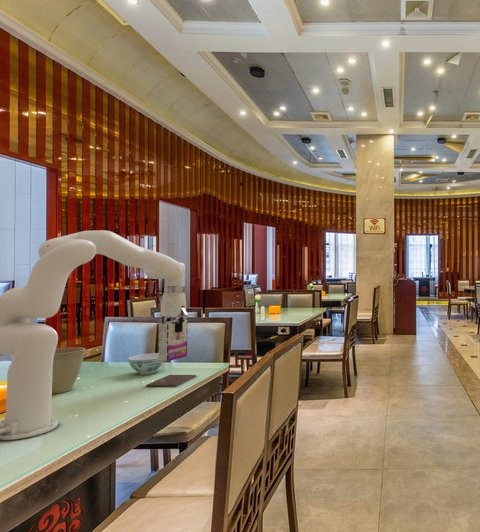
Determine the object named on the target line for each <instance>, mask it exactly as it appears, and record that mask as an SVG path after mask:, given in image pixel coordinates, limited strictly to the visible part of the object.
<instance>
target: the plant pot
mask: <svg viewBox="0 0 480 532" xmlns="http://www.w3.org/2000/svg"><path fill="white" fill-rule="evenodd" d="M85 352H86V348H85V347H61V348H56V350H55V354H54V359H53V370H52V395H53V394H62V393H66V392H70V391H72V389H73V387H74V385H75V384H76V382H77V381H76V380H77V378H78V376H79V374H80V371H81V368H82V364H83V361H84V356H85Z"/></svg>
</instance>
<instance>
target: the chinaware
mask: <svg viewBox="0 0 480 532" xmlns="http://www.w3.org/2000/svg"><path fill="white" fill-rule="evenodd" d="M165 362H166V361H159V352H152V353H150V352H149V353H141V354H135V355H132V356H129V357H128V363H129V366H130V367H131V368H132V369H133V370H134V371H136V372H138V374H139V375H142V376H143V375H151V374H155V373H156V372H157V370H158V369H160V368H161V367H162V366H164V363H165Z"/></svg>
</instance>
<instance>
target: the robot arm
mask: <svg viewBox="0 0 480 532" xmlns="http://www.w3.org/2000/svg"><path fill="white" fill-rule="evenodd" d="M37 254H38V257H39V259H38V260H37V261H36V262H35V263H34V265H33V267H32V269H31V271H30V274H29V276H28V280H27V283H26V284H25V285H26V286H19V287H13V288H10V289H8V290H6V291H5V292H4V293H2V294H1V295H0V355H5V356H13V358H12V360H11V362H10V364H9V366H8V369H7V372H6V373H7V374H6V375H7V376H6V398H5V399H6V400H5V419H1V420H0V440H3V441H13V440H20V439H26V438H31V437H36V436H39V435H42V434H45V433H48V432H51V431H52V430H54V429H56V428H57V427H58V424H59V423H58V420H56V419H53V418H52V400H53V399H52V397H53V396H52V395H53V394H52V370H53V359H54V354H55V350H56V349H57V346H58V341H59V336H58V332H57V331H56V329H54V328H53V327H52V326H50V325H47V324H45V323H40V322H39V323H38V322H37V323H36V322H31V320H32V319H33V320H34V319H35V320H37V319H39V320H40V319H41V320H43V319H49V318H52V317H54V316H55V315H57V313H58V312H59V311H60V307H61V304H62V300H63V296H64V292H65V288H66V284H67V281H68V278H69V276H70V274H71V273H72V272H73V271H74V270H75V269H77V267H79V266H81V265H84V264H87V263H88V262H91V261H92V260H93V259H94V258H95V256H96V255H102V256H105V257H107V258H109V259H111V260H113V261H116V262H118V263H120V264H121V265H124V266H127V267H131V268H137V269H143V272H144V275H145V276H146V277H148V278H150V279H154V280H164V293H163V294H162V297H161V301H160V302H161V303H160V313H159V316H160V317H161V318H162V320H163V322H168V321H173V318H175V320H176V323H175V333H178V332H182V328H183V323H184V320H187V319H188V317H189V314H188V312H187V299H186V298H187V297H186V293H185V287H186V286H185V281H186V265H185V263H184V262H179V261H177V260H176V259H175V258H173V257H170V256H169V255H166V254H165V253H161V252H159V251H155V250H152V249H149V248H146V247H142V246H140V245H138V244H136V243H134V242H132V241H130V240H128V239H126V238H124V237H122V235H119V234H118V233H115V232H113V231H110V230H105V229H101V230H100V229H99V230H95V229H94V230H83V231H78V232H74V233H70V234H67V235H63V236H58V237H54V238H50V239H47V240H46V241H44V242H42V243H41V244H40V246H39V247H38V253H37Z"/></svg>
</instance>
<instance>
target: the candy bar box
mask: <svg viewBox="0 0 480 532" xmlns="http://www.w3.org/2000/svg"><path fill="white" fill-rule="evenodd" d="M175 323H176V319H175V320H171V321H168V322H164V321H163V322H159V323H158V353H159V361H165V362H171V361H174V360H178V359H181V358H185V357H187V356H188V319H185V320H184V323H183V328H182V332H178V333H175Z"/></svg>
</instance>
